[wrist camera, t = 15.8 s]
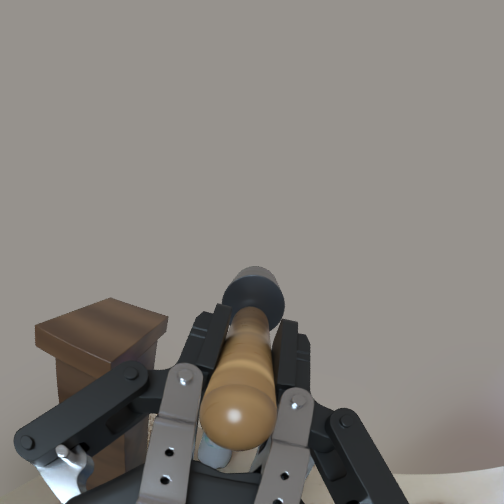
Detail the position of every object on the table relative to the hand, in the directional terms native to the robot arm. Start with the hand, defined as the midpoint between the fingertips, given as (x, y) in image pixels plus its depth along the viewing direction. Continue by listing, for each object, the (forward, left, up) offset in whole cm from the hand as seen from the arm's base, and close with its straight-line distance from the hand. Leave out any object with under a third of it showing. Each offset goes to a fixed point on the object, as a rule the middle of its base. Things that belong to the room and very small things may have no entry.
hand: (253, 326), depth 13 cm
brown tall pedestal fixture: (-4, +16, -39) cm, 42 cm away
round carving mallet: (+3, +3, -3) cm, 5 cm away
